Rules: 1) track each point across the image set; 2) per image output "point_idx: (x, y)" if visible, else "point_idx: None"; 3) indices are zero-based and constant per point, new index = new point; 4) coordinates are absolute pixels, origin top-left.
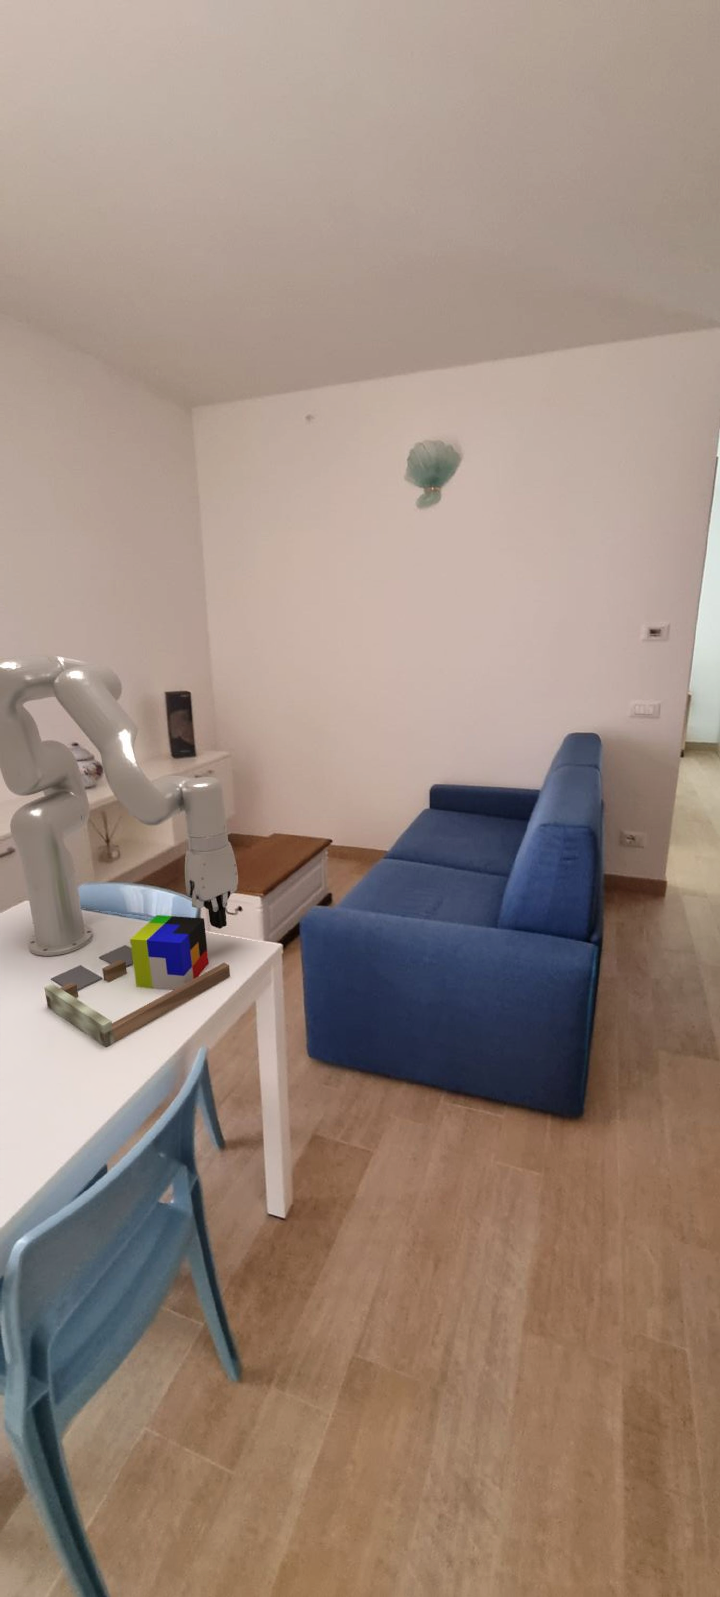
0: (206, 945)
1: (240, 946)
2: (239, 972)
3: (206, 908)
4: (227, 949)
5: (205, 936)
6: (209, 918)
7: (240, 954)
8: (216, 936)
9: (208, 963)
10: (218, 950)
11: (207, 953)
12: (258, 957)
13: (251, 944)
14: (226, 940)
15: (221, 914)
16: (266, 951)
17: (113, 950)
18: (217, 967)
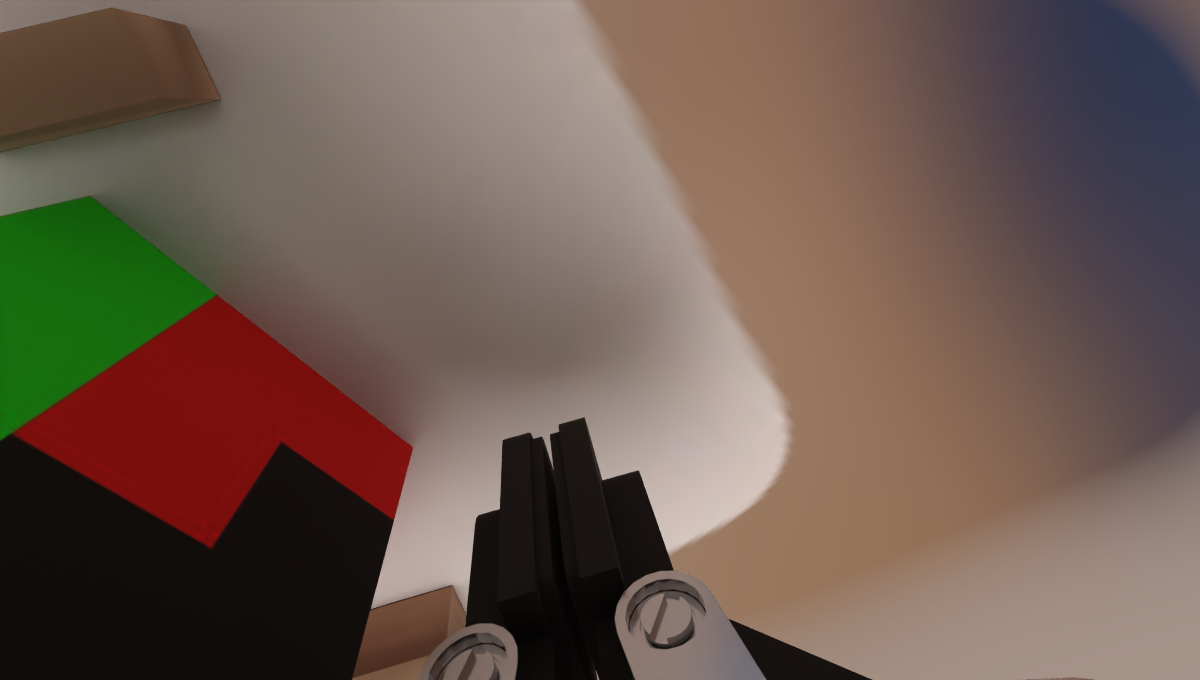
0: (383, 549)
1: (676, 370)
2: None
3: (439, 667)
4: (592, 356)
5: (364, 617)
6: (473, 554)
7: (623, 454)
8: (627, 115)
9: (411, 450)
10: (538, 332)
11: (399, 497)
12: (679, 529)
13: (739, 387)
14: (651, 234)
15: (594, 667)
16: (747, 500)
17: None
18: (389, 677)
